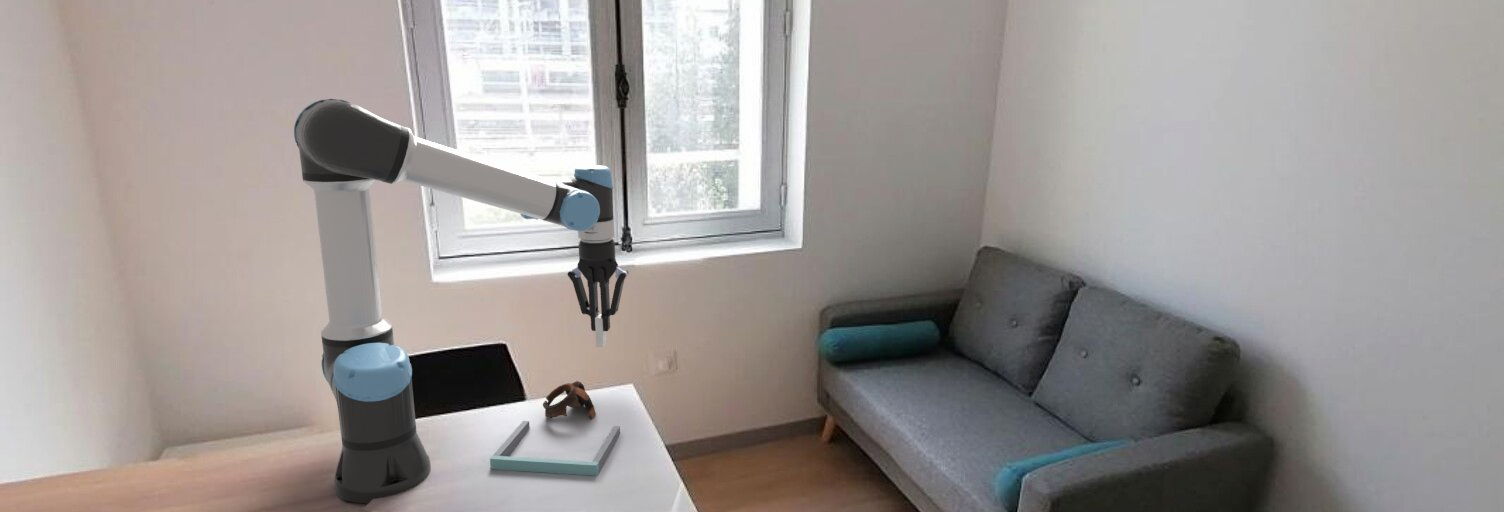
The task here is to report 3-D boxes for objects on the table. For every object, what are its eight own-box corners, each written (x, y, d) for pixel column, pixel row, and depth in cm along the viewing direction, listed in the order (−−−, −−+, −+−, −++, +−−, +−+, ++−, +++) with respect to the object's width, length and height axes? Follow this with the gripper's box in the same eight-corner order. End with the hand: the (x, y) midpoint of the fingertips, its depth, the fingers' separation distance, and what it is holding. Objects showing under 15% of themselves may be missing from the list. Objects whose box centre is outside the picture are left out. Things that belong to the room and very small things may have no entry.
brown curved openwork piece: (596, 429, 155) (574, 399, 152) (555, 447, 157) (532, 417, 153) (604, 393, 166) (584, 364, 162) (566, 410, 167) (545, 381, 164)
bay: (490, 469, 139) (489, 458, 139) (523, 430, 154) (523, 420, 154) (597, 475, 137) (596, 465, 137) (620, 435, 152) (619, 426, 152)
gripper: (560, 242, 162) (566, 349, 168) (622, 243, 161) (626, 351, 167) (572, 234, 169) (577, 337, 175) (631, 236, 168) (634, 339, 174)
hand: (601, 344), depth 171 cm, fingers closed
